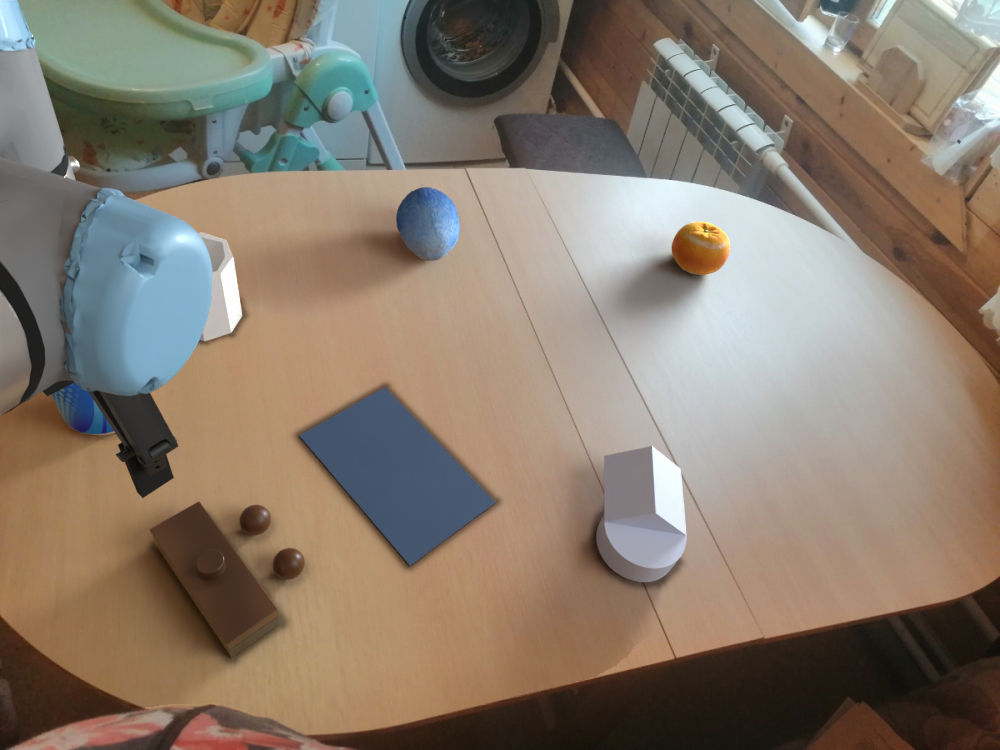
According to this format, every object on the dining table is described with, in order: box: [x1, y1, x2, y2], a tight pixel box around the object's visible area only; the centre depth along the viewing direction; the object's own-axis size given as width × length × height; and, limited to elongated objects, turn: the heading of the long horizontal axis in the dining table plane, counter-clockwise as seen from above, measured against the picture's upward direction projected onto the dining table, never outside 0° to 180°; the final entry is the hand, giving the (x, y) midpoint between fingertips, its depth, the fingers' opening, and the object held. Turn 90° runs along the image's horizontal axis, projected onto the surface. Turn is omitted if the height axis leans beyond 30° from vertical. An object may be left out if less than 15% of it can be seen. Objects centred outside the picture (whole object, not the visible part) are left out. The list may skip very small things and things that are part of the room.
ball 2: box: [272, 547, 306, 581], centre depth 70 cm, size 3×3×3 cm
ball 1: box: [239, 504, 272, 536], centre depth 72 cm, size 3×3×3 cm
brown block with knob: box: [149, 501, 281, 658], centre depth 67 cm, size 5×14×5 cm, turn 43°
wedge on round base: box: [595, 445, 688, 583], centre depth 78 cm, size 9×7×13 cm
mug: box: [197, 231, 243, 342], centre depth 86 cm, size 12×9×10 cm
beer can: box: [50, 382, 116, 436], centre depth 73 cm, size 8×8×16 cm
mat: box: [298, 386, 496, 567], centre depth 81 cm, size 12×20×1 cm, turn 43°
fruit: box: [671, 221, 731, 276], centre depth 110 cm, size 8×8×8 cm
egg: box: [395, 184, 461, 262], centre depth 103 cm, size 9×9×15 cm
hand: (106, 433), depth 59 cm, fingers open, 13 cm apart
